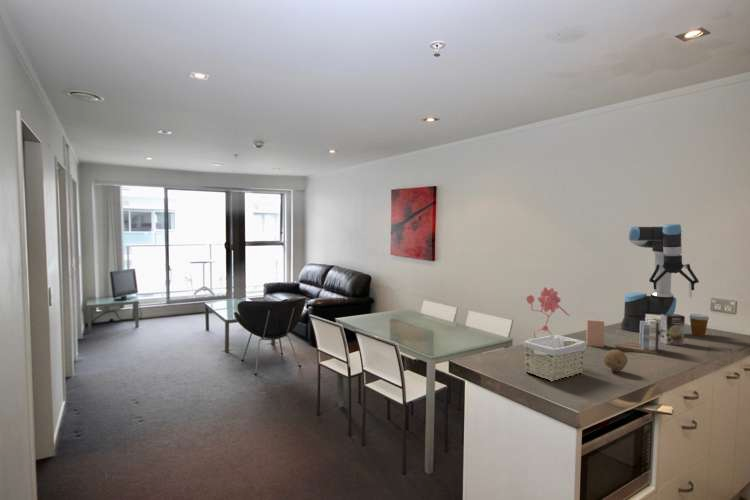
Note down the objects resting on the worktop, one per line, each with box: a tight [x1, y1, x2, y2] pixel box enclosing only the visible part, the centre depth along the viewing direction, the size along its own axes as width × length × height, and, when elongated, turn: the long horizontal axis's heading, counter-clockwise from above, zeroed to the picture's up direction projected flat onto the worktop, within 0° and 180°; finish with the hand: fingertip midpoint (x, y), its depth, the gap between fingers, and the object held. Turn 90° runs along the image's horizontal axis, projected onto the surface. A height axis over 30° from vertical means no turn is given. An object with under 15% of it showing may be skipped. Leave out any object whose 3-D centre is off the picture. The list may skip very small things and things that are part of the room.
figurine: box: [526, 286, 570, 338], centre depth 203 cm, size 15×26×35 cm, turn 27°
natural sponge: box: [603, 349, 628, 373], centre depth 182 cm, size 9×9×10 cm
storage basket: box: [523, 334, 587, 380], centre depth 180 cm, size 24×16×15 cm
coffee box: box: [659, 313, 686, 346], centre depth 229 cm, size 9×6×16 cm
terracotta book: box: [585, 318, 605, 348], centre depth 225 cm, size 5×8×14 cm, turn 67°
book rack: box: [613, 316, 660, 355], centre depth 218 cm, size 12×18×16 cm, turn 67°
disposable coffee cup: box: [688, 313, 710, 337], centre depth 247 cm, size 10×10×12 cm
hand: (673, 295), depth 208 cm, fingers open, 13 cm apart
